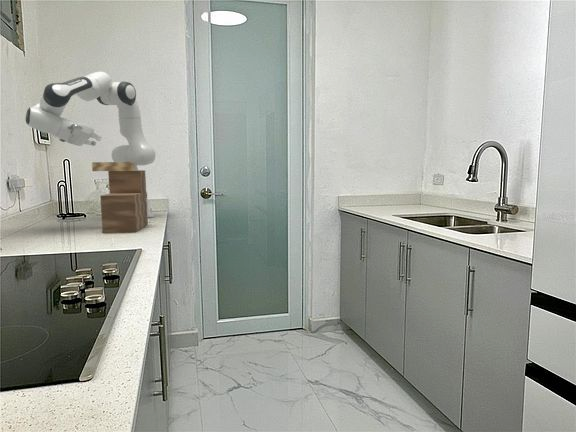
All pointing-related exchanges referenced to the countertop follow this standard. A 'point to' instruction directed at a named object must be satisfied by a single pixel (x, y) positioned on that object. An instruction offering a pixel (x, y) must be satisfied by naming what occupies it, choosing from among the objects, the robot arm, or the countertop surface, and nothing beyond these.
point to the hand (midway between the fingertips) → (98, 141)
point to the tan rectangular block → (113, 166)
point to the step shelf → (125, 202)
